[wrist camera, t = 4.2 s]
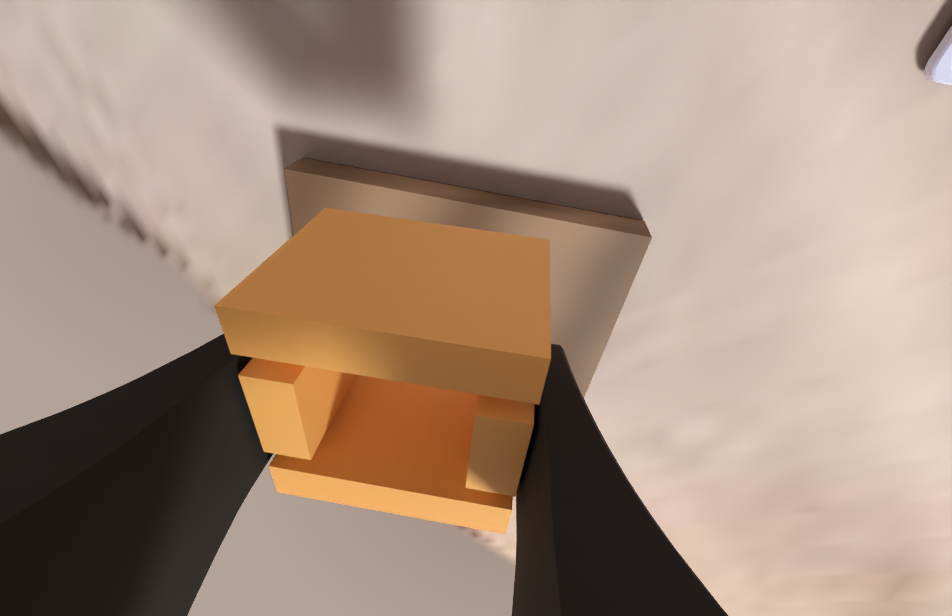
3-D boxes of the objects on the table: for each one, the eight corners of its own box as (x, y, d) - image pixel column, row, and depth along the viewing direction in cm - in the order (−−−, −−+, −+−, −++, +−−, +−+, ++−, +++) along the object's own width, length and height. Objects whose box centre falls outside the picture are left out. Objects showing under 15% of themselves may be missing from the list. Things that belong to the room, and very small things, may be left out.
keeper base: (644, 221, 17) (678, 295, 12) (575, 392, 23) (581, 484, 18) (303, 157, 17) (219, 207, 13) (322, 341, 23) (269, 419, 19)
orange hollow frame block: (549, 239, 9) (550, 359, 6) (516, 397, 12) (505, 534, 9) (325, 207, 10) (214, 306, 6) (346, 370, 13) (277, 491, 10)
